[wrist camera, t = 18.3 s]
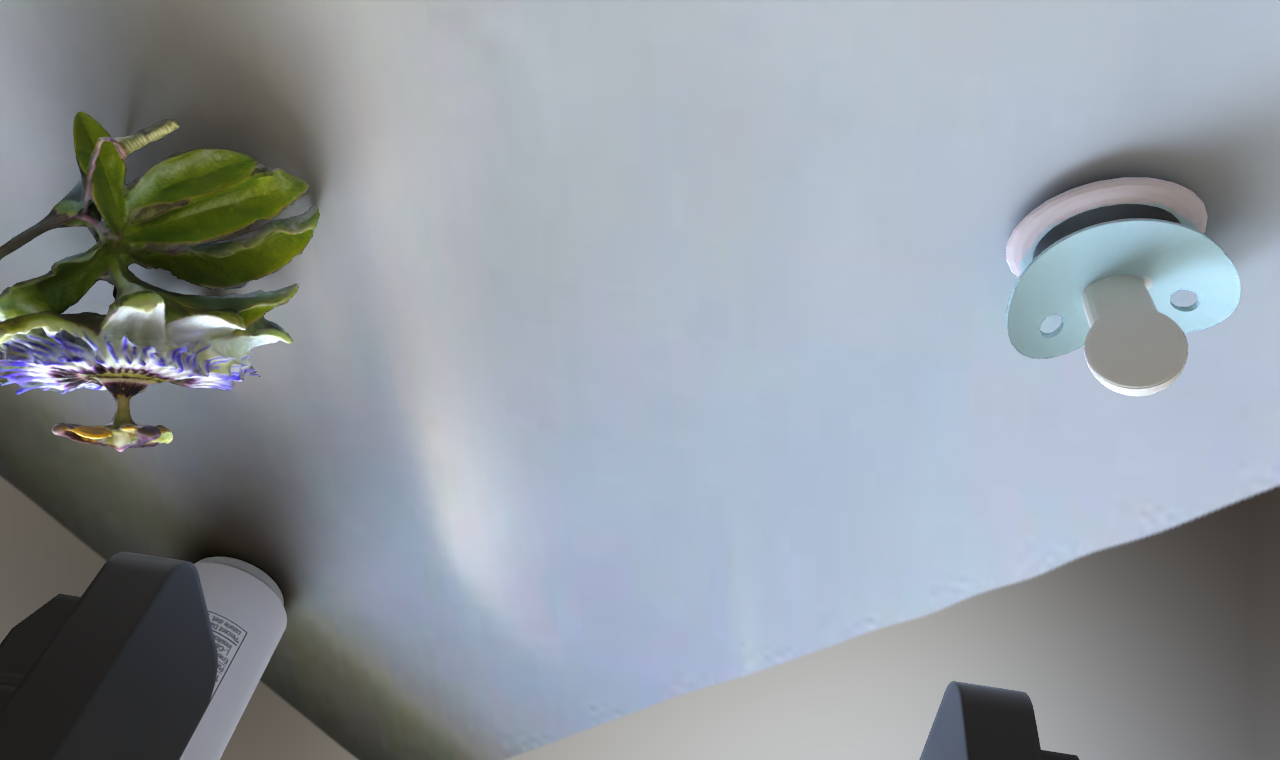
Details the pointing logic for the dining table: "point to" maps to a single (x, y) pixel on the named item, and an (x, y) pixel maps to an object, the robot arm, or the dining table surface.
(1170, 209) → the pacifier
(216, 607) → the energy drink can
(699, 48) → the dining table surface
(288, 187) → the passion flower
